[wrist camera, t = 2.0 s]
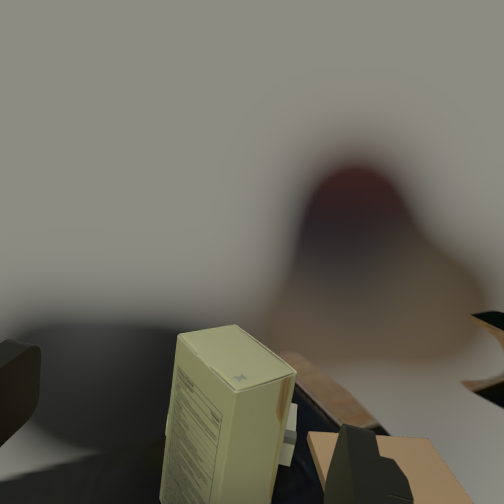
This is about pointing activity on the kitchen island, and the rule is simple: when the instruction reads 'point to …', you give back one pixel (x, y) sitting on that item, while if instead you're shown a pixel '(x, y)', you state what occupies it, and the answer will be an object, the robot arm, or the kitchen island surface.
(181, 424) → the skincare box
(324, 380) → the kitchen island surface
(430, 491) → the coaster
